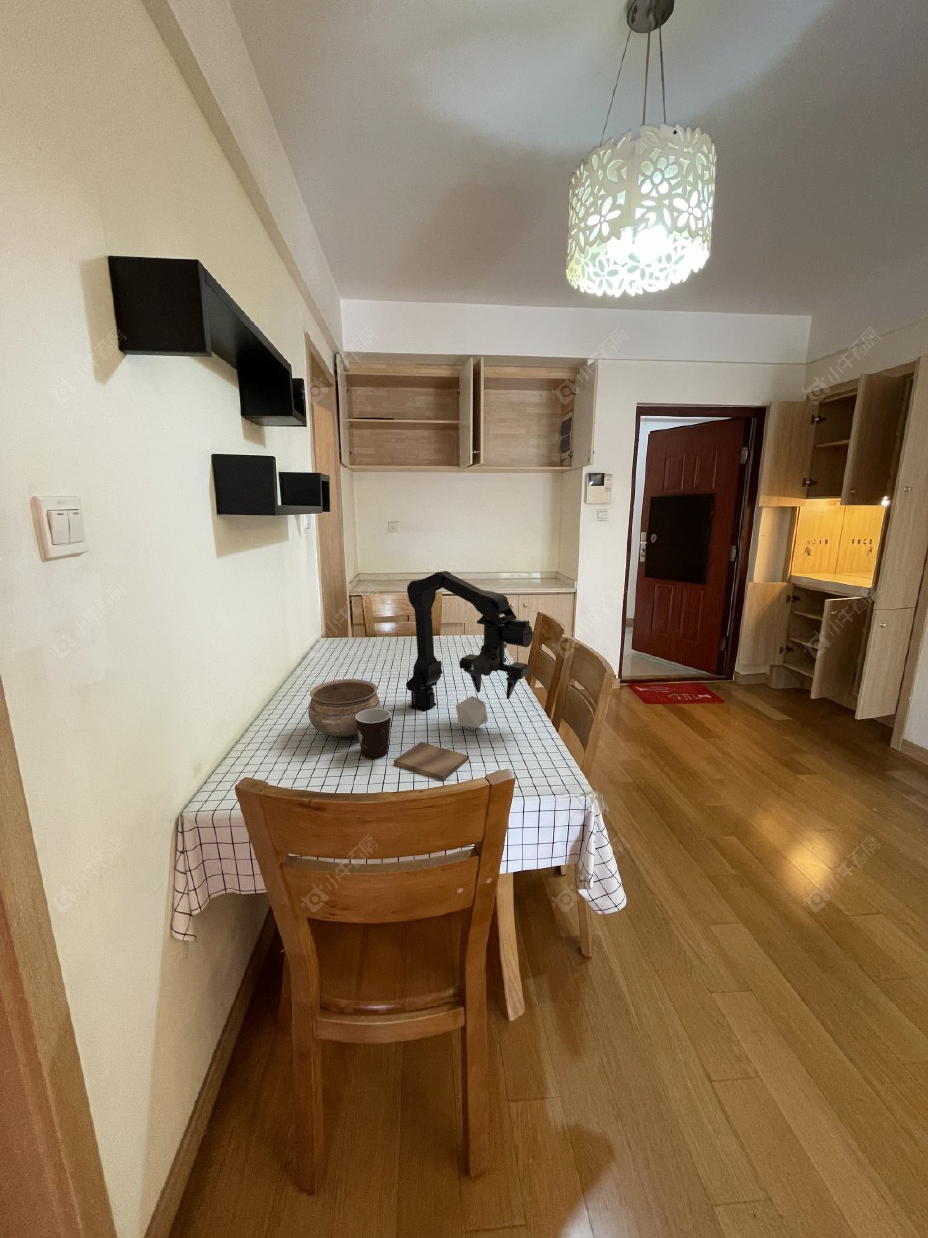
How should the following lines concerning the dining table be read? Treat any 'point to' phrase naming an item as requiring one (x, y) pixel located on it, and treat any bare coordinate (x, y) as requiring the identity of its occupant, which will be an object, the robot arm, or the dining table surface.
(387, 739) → the coffee mug
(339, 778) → the dining table surface
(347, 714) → the cooking pot
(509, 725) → the dining table surface
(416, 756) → the board
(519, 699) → the dining table surface
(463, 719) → the die
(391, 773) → the dining table surface
